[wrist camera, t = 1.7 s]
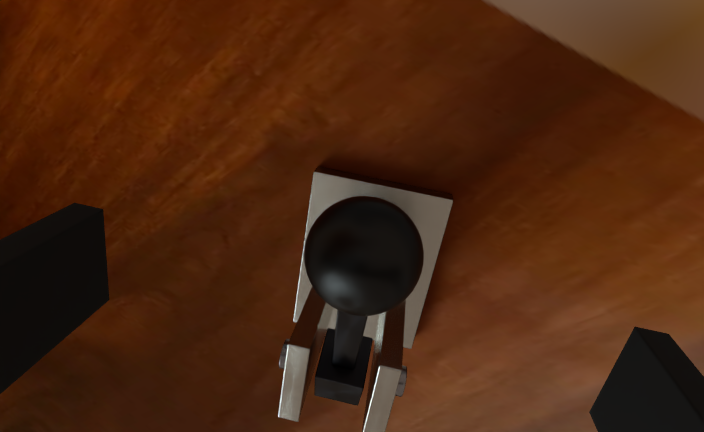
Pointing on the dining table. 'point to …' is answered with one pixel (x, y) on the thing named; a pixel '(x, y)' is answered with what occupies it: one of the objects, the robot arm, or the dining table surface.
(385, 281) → the lever
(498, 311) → the dining table surface
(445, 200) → the bracket
